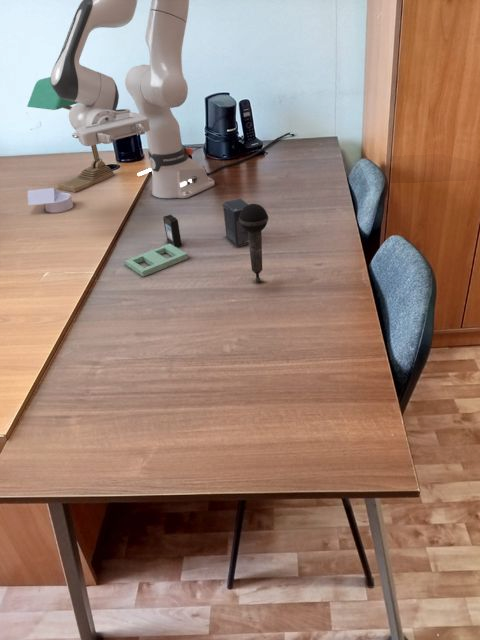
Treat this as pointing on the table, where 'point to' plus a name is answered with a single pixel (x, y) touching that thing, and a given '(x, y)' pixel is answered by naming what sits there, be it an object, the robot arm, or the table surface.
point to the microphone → (254, 233)
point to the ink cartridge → (172, 230)
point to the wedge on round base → (50, 199)
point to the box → (235, 222)
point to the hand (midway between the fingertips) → (127, 135)
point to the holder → (156, 259)
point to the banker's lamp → (98, 171)
